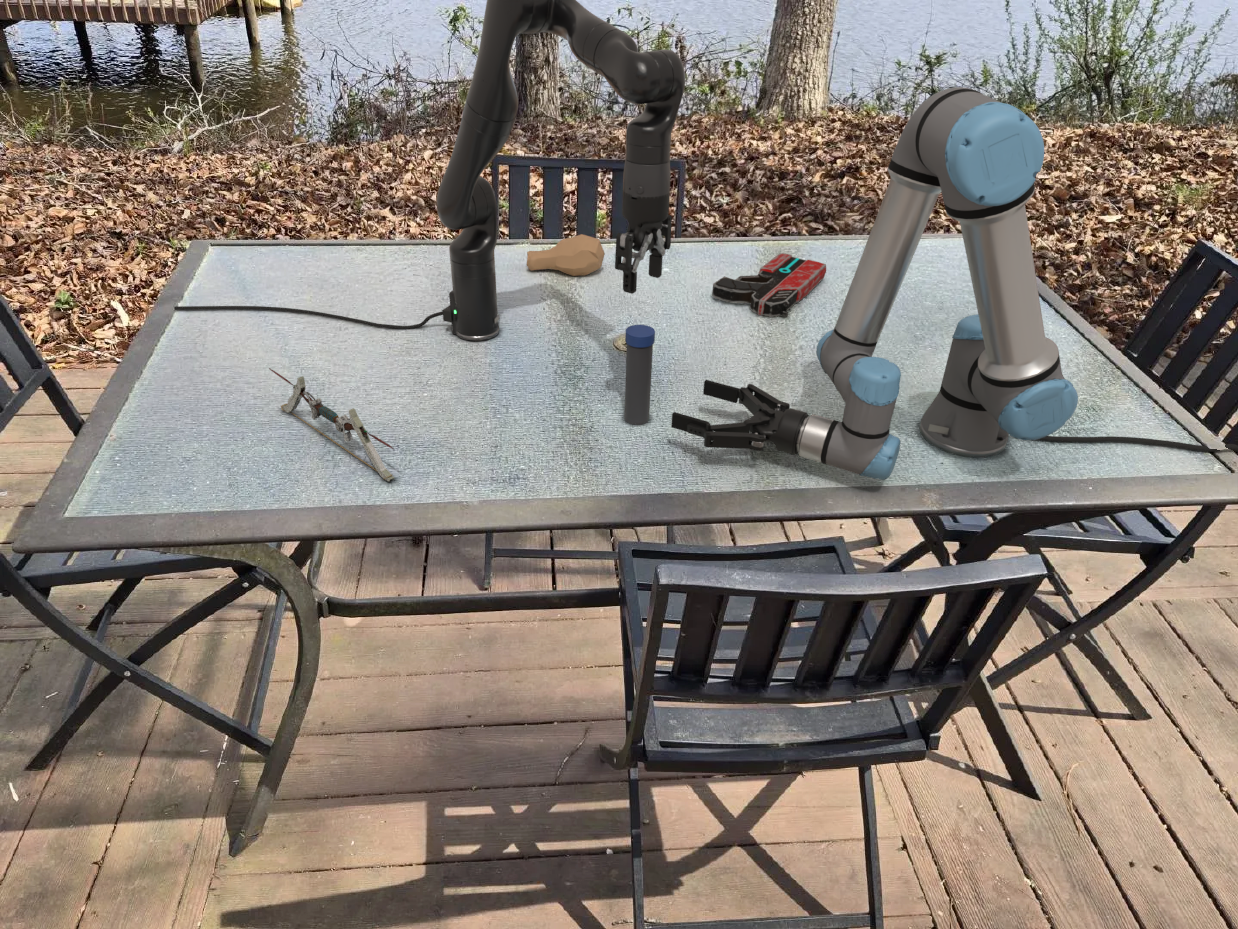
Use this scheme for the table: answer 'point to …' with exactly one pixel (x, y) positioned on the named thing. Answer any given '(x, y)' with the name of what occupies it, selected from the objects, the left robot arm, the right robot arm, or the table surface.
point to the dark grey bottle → (638, 384)
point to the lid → (640, 336)
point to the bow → (337, 424)
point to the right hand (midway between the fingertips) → (688, 402)
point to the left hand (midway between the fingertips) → (642, 284)
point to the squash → (569, 256)
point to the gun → (772, 285)
